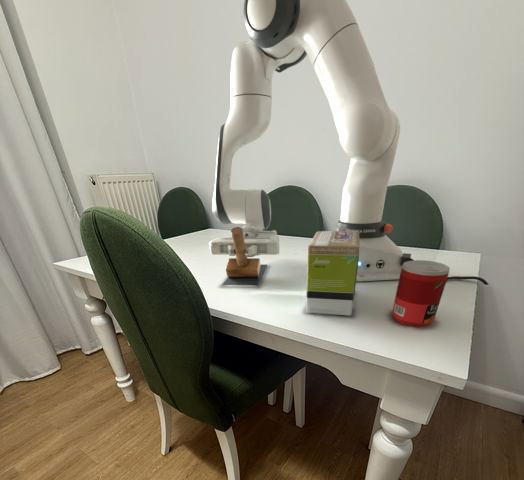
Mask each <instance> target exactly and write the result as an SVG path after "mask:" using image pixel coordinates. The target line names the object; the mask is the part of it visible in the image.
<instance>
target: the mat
mask: <svg viewBox="0 0 524 480" xmlns="http://www.w3.org/2000/svg"><path fill="white" fill-rule="evenodd" d="M267 266H268V264H260V271H259V276H258V279H229V277H228V276H227V278H226V279H225V281H224V282H223V283H222V284H221V285H222V286H258V285H259V283H260V281H261V279H262V277H263V275H264V273H265V271H266V268H267Z"/></svg>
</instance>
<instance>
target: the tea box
mask: <svg viewBox="0 0 524 480" xmlns="http://www.w3.org/2000/svg"><path fill="white" fill-rule="evenodd" d="M359 248H360V245H359V231H337V230H322V231H321V230H317V231H316V232H315V234H314V236H313V237H312V239H311V241H310V242H309V245H308V246H307V264H306V267H307V270H306V298H305V299H306V303H305V308H306V309H305V312H306V313H308V314H317V315H330V316H331V315H333V316H352V312H353V306H354V299H355V292H356V284H357V281H356V277H357V269H358V260H359Z"/></svg>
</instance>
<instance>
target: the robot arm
mask: <svg viewBox="0 0 524 480" xmlns="http://www.w3.org/2000/svg"><path fill="white" fill-rule="evenodd" d="M243 21H244V25H245V28H246V31H247V33H248V36H249V37H250V38H248V39H244V40H241V41H240V42H238V44H236V45H235V46H234V49H233V51H232V53H231V63H230V76H229V77H230V81H229V82H230V83H229V84H230V85H229V90H230V91H229V92H230V93H229V94H230V96H229V97H230V105H229V113H228V116H227V119H226V121H225V122H224V123H222V124H221V126H220V129H219V132H218V133H219V134H218V140H217V141H218V142H217V152H216V165H215V179H214V188H213V189H214V190H213V196H212V204H211V206H212V207H211V209H212V216H213V217H214V218H215V219H216V220H217V221H218V222H219V224H222V225H223V226H225V225H226V226H227V225H234V224H243V226H242V227H241V228H242V230H243V236H244V242H245V248H246V249H245V256H247V258H254V257H256V256H266V255H268V256H269V255H271V256H273V255H274V256H275V255H279V254H280V236H279V234H278V232H277V230H275V229H270V228H269V227H270V226H271V224H272V218H273V206H272V200H271V198H270V196H269V195H268V193H267V192H266V191H265V190H264V189H255V188H254V189H253V188H251V189H250V188H249V189H232V188H231V187H230V185H231V177H232V175H231V174H232V164H233V158H234V155H235V154H236V152H237V151H238V150H239V149H241V148H243V147H245V146H247V145H248V144H250V143H253V142H254V141H256V140H258V139H260V138H261V137H262V136H263V135H264V134H265V132H266V131H267V129H268V128H269V126H270V123H271V118H272V101H273V97H272V92H273V91H272V87H273V86H272V84H273V76H274V73H275V72H276V73H282V72H284V71H286V70H288V69H289V68H291V67H293V66H296V65H298V64H301V62H302V61H303V60H304V59H305V58H306V57H308V59H309V61H310V63H311V66H312V69H313V71H314V72H315V74H316V78H317V79H318V81H319V84H320V86H321V88H322V91H323V93H324V96H325V97H326V99H327V102H328V105H329V108H330V110H331V114H332V118H333V121H334V125H335V128H336V131H337V134H338V137H339V143H340V145H341V148H342V150H343V151H344V153H345V154H346V155H347V156H348V157H349V158H350V162H349V166H348V170H347V174H346V175H347V176H346V179H345V182H344V184H343V187H342V192H341V193H342V194H341V203H340V204H341V205H340V214H339V220H338V221H337V225H336V231H359V245H360V248H359V260H358V269H357V277H356V282H372V281H373V282H374V281H391V280H392V281H393V280H395V281H396V280H399V277H400V273H401V269H402V266H403V263H405V262H407V261H414V260H415V259H413V258H412V253H405V252H404V253H403V251H402V249H401V248H400V247H399V246H398V245H397V244H396V243H395V242H394V241H393V240H391V239H390V238H389V237H388V236H387V235H388V234H390V233H392V231H393V230H394V226H393V225H392V224H390V223H387V222H385V221H384V220H382V219H383V213H384V209H385V201H386V196H387V191H388V186H389V182H390V177H391V174H392V169H393V166H394V163H395V162H394V161H395V157H396V153H397V152H396V151H397V148H398V144H399V138H400V134H401V123H400V120H399V117H398V115H397V114H396V113H395V112H394V111H393V110H392V109H391V108H390V106H389V105H388V102H387V99H386V97H385V94H384V92H383V89H382V85H381V84H380V80H379V77H378V75H377V71H376V68H375V64H374V62H373V59H372V56H371V54H370V51H369V49H368V46H367V44H366V42H365V38H364V36H363V34H362V32H361V29H360V27H359V25H358V22H357V20H356V18H355V15H354V13H353V11H352V9H351V7H350V6H349V4H348V1H347V0H244V3H243ZM268 228H269V229H268ZM208 245H209V252H210V254H211V255H213V256H228V255H229V256H230V257H236V254H235V249H234V245H233V240H232V236H221V237H217V238H214V239H212V240H210V241H209V243H208ZM451 280H476V281H479V282H481V283H482V284H483V285H486V286H489V283H488V281H486V280H485V279H484V278H483V277H480V276H474V275H472V276H471V275H469V276H468V275H467V276H458V275H457V276H448V278H447V281H451Z"/></svg>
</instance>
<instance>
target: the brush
mask: <svg viewBox="0 0 524 480" xmlns="http://www.w3.org/2000/svg"><path fill="white" fill-rule="evenodd" d="M230 235H231V237H232V240H233V245H234V249H235V254H236V255H235V257H232V258H231V257H229V258H228V261H227V264H226V267H225V272H226V276H227V278H228V277H229V279H258V276H259V271H260V265H261V259H260V257H259V258H258V257H257V258H254V257H247V256H245V249H246V248H245V242H244V236H243V230H242V227H240V226H235V227H233V228H231V230H230Z"/></svg>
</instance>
